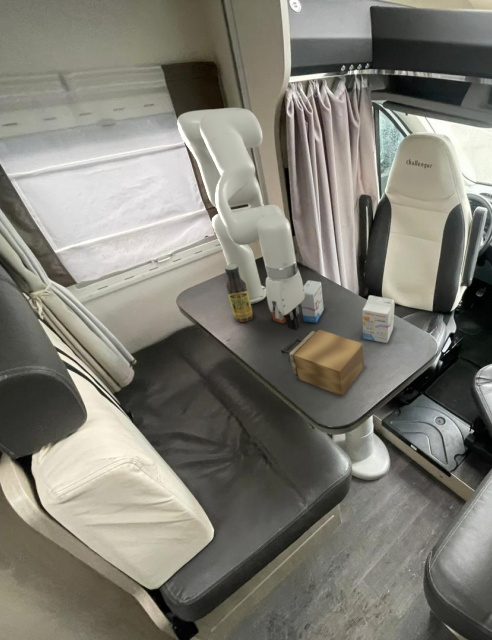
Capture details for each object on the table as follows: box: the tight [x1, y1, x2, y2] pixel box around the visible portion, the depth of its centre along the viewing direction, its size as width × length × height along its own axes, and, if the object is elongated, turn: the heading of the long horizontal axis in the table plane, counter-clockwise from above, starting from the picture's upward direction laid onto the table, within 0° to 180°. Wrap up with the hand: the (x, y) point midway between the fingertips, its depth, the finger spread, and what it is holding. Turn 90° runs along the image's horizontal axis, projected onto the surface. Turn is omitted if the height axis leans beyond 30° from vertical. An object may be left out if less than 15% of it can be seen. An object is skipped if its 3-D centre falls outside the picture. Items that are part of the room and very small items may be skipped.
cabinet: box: [294, 329, 364, 397], centre depth 104 cm, size 15×13×10 cm
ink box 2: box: [362, 294, 396, 344], centre depth 117 cm, size 9×8×13 cm
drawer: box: [280, 330, 317, 375], centre depth 106 cm, size 19×11×8 cm, turn 64°
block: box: [271, 311, 286, 325], centre depth 126 cm, size 4×4×4 cm
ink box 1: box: [300, 280, 325, 324], centre depth 125 cm, size 9×5×12 cm, turn 168°
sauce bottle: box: [224, 264, 254, 323], centre depth 121 cm, size 7×6×20 cm
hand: (293, 327), depth 102 cm, fingers closed
